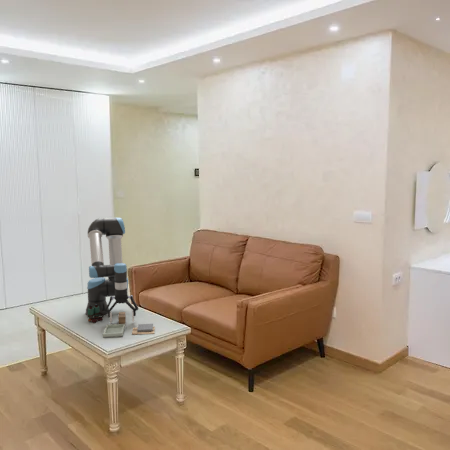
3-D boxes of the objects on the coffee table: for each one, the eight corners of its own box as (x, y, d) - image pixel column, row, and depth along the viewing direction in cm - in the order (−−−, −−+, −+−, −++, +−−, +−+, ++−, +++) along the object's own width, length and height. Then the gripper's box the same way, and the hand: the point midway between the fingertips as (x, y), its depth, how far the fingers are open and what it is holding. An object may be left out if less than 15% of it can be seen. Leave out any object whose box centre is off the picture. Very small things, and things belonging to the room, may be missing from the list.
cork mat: (133, 328, 267) (133, 327, 267) (154, 327, 269) (154, 326, 269) (131, 334, 257) (131, 334, 256) (154, 333, 258) (154, 333, 258)
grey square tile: (138, 324, 269) (137, 329, 260) (153, 323, 271) (152, 329, 261) (138, 326, 270) (137, 332, 260) (153, 325, 271) (152, 331, 261)
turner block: (119, 321, 280) (119, 312, 280) (125, 321, 281) (125, 311, 280) (118, 326, 271) (118, 317, 270) (125, 326, 271) (125, 316, 271)
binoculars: (95, 309, 274) (85, 305, 279) (95, 325, 275) (85, 320, 281) (107, 305, 281) (97, 301, 286) (106, 321, 283) (96, 316, 288)
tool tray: (106, 328, 268) (106, 324, 268) (125, 327, 269) (125, 323, 269) (102, 337, 252) (102, 334, 252) (122, 336, 253) (122, 333, 253)
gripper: (99, 290, 268) (100, 324, 270) (141, 289, 271) (142, 322, 273) (101, 287, 275) (102, 320, 278) (141, 286, 278) (142, 318, 281)
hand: (122, 321), depth 275 cm, fingers open, 13 cm apart
